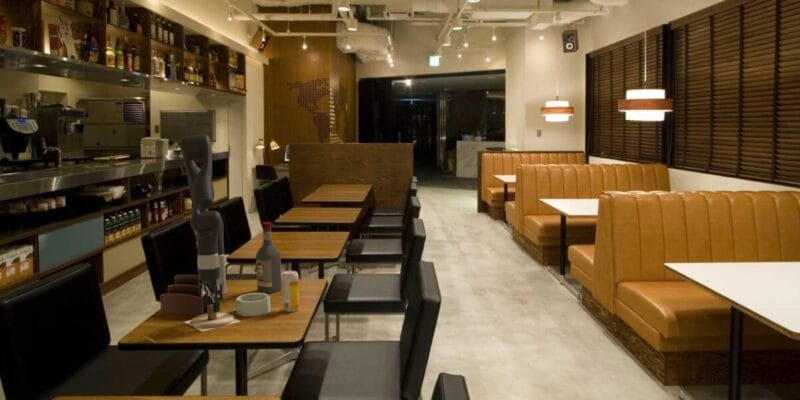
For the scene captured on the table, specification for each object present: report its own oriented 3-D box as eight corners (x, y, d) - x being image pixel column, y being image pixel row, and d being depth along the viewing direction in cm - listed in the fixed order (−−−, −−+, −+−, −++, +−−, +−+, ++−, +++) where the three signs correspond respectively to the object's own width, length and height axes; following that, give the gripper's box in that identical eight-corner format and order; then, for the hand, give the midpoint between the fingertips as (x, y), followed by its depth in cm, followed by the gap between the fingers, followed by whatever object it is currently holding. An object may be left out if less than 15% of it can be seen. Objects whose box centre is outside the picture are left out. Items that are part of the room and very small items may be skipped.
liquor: (270, 286, 267) (267, 220, 264) (284, 289, 262) (281, 222, 258) (254, 291, 260) (251, 223, 256) (269, 294, 255) (265, 225, 251)
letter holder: (177, 306, 240) (175, 272, 238) (219, 310, 234) (217, 275, 232) (160, 314, 231) (157, 278, 229) (203, 318, 224) (201, 282, 223)
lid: (183, 321, 219) (182, 306, 218) (221, 312, 229) (220, 297, 228) (202, 331, 208) (201, 314, 207) (241, 321, 218) (240, 305, 217)
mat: (183, 323, 219) (183, 321, 219) (221, 314, 229) (221, 312, 229) (202, 333, 208) (202, 331, 208) (241, 322, 218) (241, 321, 218)
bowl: (231, 312, 230) (231, 297, 230) (259, 305, 239) (258, 291, 238) (247, 319, 222) (246, 304, 221) (276, 312, 230) (275, 297, 229)
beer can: (302, 308, 234) (300, 270, 232) (294, 312, 229) (293, 274, 227) (288, 306, 236) (287, 270, 234) (281, 311, 231) (279, 273, 229)
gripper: (190, 264, 218) (192, 307, 220) (207, 270, 208) (210, 315, 210) (209, 261, 223) (212, 303, 225) (227, 267, 213) (230, 311, 215)
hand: (211, 309), depth 218 cm, fingers open, 8 cm apart
